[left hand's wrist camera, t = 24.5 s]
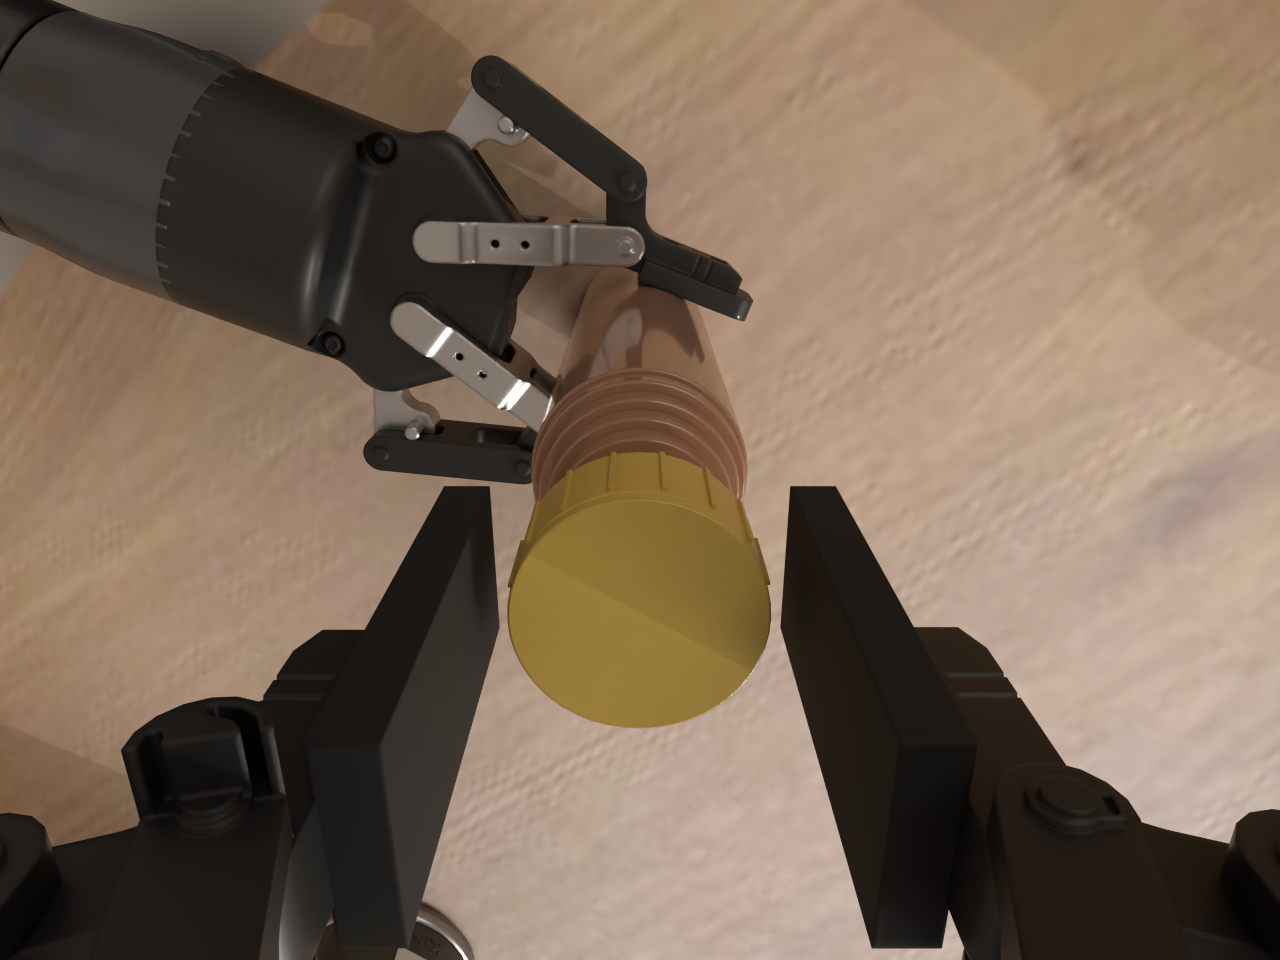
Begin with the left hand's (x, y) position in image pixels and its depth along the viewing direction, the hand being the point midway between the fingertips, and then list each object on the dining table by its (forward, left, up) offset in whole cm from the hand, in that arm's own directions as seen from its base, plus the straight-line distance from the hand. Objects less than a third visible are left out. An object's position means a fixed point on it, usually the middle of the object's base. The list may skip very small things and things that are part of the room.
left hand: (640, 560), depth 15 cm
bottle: (0, 0, -22) cm, 22 cm away
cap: (0, 0, +2) cm, 2 cm away
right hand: (-2, +2, -15) cm, 15 cm away
